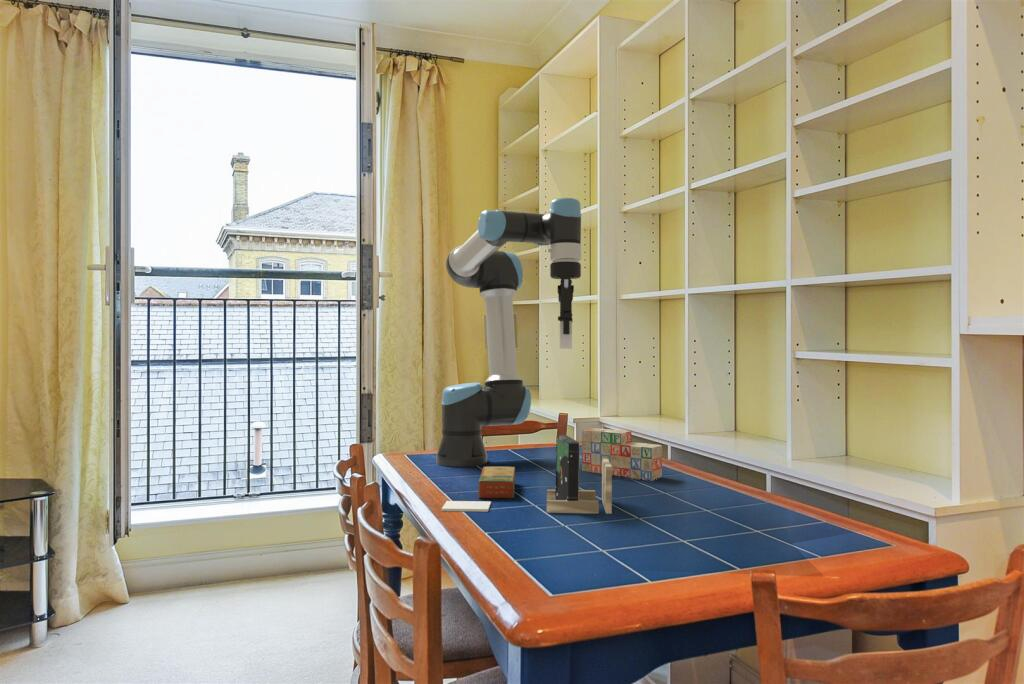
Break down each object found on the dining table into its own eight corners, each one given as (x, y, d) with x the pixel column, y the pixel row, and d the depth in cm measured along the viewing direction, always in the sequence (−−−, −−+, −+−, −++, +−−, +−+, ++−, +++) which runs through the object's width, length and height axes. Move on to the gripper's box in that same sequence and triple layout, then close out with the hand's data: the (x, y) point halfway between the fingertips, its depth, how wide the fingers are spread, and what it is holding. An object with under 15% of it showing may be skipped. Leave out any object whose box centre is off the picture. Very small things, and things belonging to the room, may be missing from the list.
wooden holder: (547, 500, 155) (547, 456, 155) (607, 501, 155) (607, 457, 155) (546, 513, 144) (546, 465, 144) (611, 513, 143) (611, 466, 143)
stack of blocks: (662, 480, 179) (662, 433, 179) (651, 483, 175) (651, 435, 175) (593, 470, 193) (593, 427, 193) (581, 473, 188) (581, 429, 188)
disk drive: (580, 511, 145) (580, 441, 145) (567, 511, 144) (567, 441, 144) (566, 499, 155) (567, 434, 155) (555, 500, 154) (555, 434, 154)
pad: (446, 503, 153) (446, 500, 153) (490, 504, 152) (490, 501, 152) (441, 511, 146) (441, 508, 146) (488, 512, 145) (488, 509, 145)
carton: (515, 482, 172) (515, 465, 172) (514, 498, 156) (514, 480, 156) (482, 482, 172) (482, 465, 172) (478, 498, 156) (478, 480, 156)
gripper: (550, 267, 180) (550, 347, 180) (550, 255, 155) (550, 348, 155) (578, 267, 180) (578, 347, 180) (583, 255, 155) (583, 348, 155)
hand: (565, 348), depth 167 cm, fingers open, 13 cm apart
